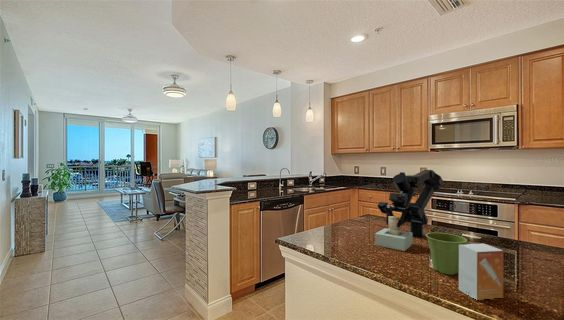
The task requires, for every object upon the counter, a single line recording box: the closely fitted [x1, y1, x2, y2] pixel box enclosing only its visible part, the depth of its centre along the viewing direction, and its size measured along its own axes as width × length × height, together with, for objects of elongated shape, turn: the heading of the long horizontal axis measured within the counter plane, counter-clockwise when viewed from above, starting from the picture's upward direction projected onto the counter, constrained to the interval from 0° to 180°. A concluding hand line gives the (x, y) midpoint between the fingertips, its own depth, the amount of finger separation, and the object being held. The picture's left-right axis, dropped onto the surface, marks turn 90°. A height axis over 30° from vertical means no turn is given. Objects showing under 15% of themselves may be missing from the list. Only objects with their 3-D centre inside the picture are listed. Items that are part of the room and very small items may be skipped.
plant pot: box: [425, 232, 468, 276], centre depth 88 cm, size 12×12×11 cm
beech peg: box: [387, 215, 401, 236], centre depth 116 cm, size 4×4×10 cm
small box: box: [458, 243, 504, 301], centre depth 73 cm, size 8×6×13 cm
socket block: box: [374, 227, 414, 252], centre depth 116 cm, size 12×12×5 cm
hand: (392, 225), depth 115 cm, fingers closed on beech peg, 4 cm apart
